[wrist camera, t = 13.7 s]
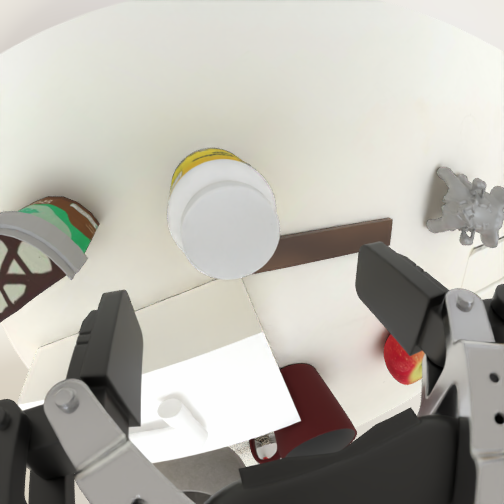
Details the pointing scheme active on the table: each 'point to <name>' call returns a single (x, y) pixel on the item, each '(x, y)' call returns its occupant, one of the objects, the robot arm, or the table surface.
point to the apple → (402, 362)
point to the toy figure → (266, 448)
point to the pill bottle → (222, 214)
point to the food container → (41, 248)
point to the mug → (310, 418)
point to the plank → (327, 243)
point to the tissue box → (191, 374)
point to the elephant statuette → (470, 209)
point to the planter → (202, 472)
